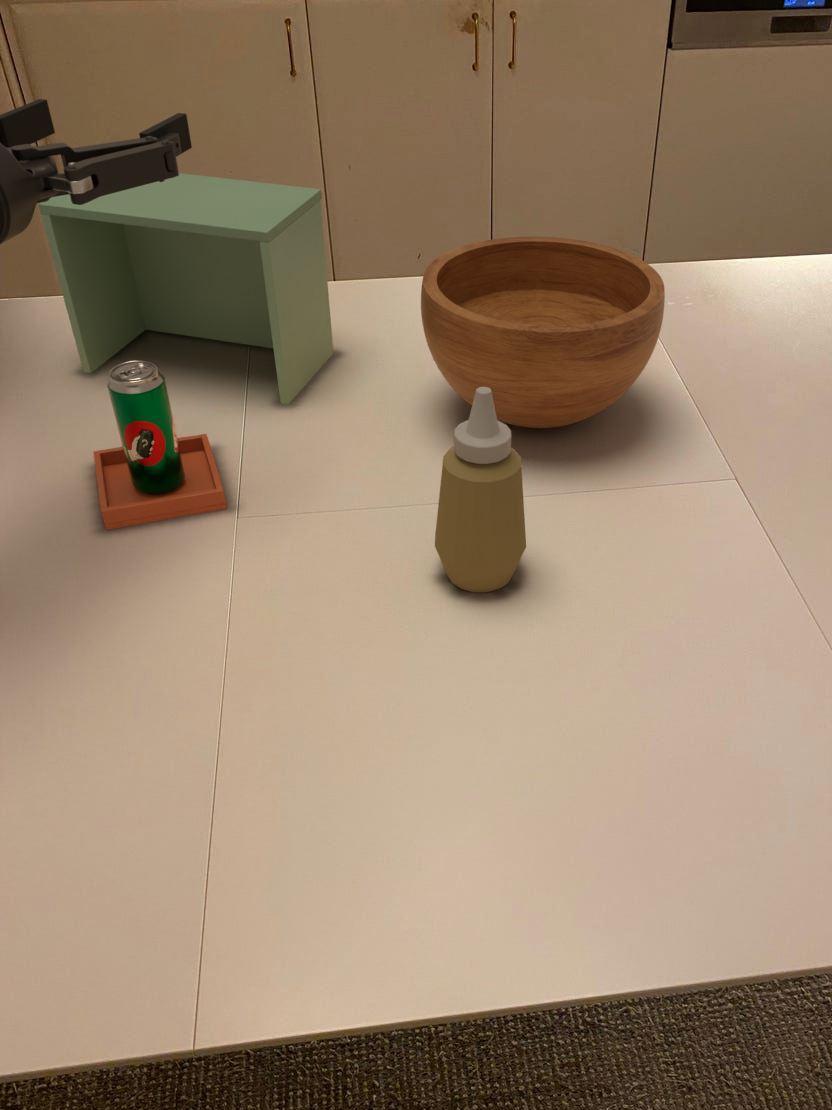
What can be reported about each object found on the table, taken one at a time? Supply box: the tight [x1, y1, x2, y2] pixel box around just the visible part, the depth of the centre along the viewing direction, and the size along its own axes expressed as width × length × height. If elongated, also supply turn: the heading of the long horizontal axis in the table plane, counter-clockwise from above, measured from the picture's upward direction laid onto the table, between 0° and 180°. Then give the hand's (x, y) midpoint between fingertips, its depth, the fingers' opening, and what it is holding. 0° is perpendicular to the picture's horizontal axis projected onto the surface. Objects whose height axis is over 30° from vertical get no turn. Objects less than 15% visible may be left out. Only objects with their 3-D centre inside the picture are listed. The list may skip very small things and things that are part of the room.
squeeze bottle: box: [434, 387, 527, 593], centre depth 82 cm, size 8×8×18 cm
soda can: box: [106, 360, 185, 495], centre depth 93 cm, size 5×5×12 cm
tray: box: [92, 433, 228, 531], centre depth 97 cm, size 11×11×2 cm
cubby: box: [37, 172, 335, 406], centre depth 112 cm, size 14×26×19 cm, turn 74°
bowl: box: [420, 236, 666, 429], centre depth 105 cm, size 25×25×15 cm
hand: (115, 123), depth 87 cm, fingers open, 13 cm apart
